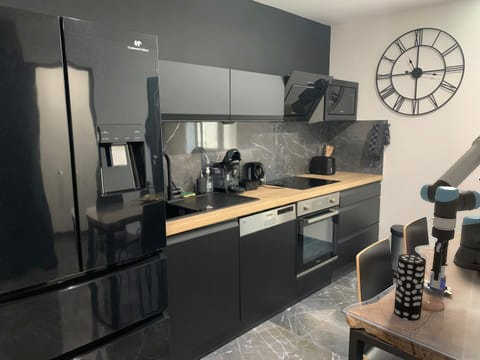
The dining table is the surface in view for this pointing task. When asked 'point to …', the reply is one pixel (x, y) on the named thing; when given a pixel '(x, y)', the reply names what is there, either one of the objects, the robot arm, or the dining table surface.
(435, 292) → the collar
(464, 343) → the dining table surface
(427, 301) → the peach disc
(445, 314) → the dining table surface
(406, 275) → the spotted tube
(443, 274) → the pill bottle
